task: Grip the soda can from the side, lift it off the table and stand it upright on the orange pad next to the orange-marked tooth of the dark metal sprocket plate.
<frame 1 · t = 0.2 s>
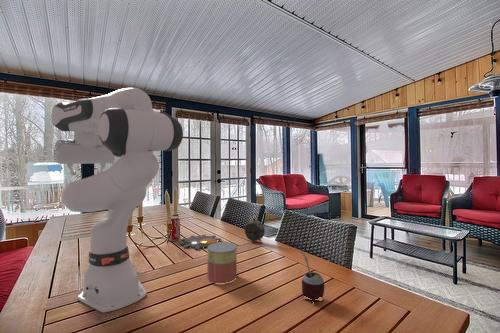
hand: (87, 174, 103), 39 cm above the table, tool pointing down, fingers open, 8 cm apart
alarm clock: (253, 242, 139), on the table
sprocket plate: (200, 242, 138), on the table
canned food: (222, 278, 97), on the table
mate gourd: (311, 299, 82), on the table
soda can: (173, 240, 143), on the table
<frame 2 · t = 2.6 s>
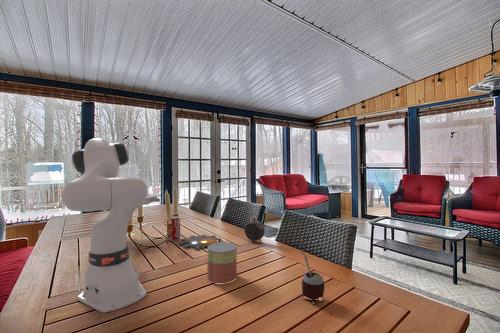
hand: (154, 201, 146), 21 cm above the table, tool horizontal, fingers open, 8 cm apart
nothing on the table moved.
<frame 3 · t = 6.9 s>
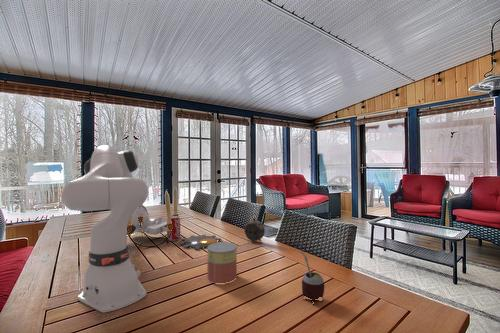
hand: (174, 227, 142), 7 cm above the table, tool horizontal, fingers open, 6 cm apart
soda can: (173, 240, 143), on the table, touching gripper
everything else where it was.
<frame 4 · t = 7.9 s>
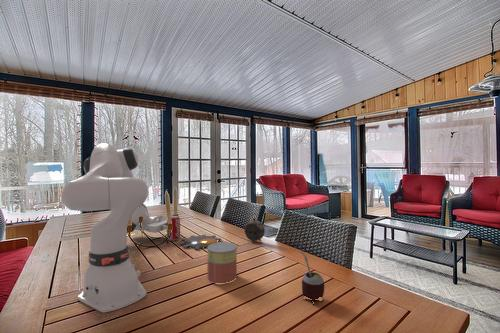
hand: (175, 225, 142), 8 cm above the table, tool horizontal, fingers open, 5 cm apart
soda can: (173, 239, 143), on the table
everything else where it was.
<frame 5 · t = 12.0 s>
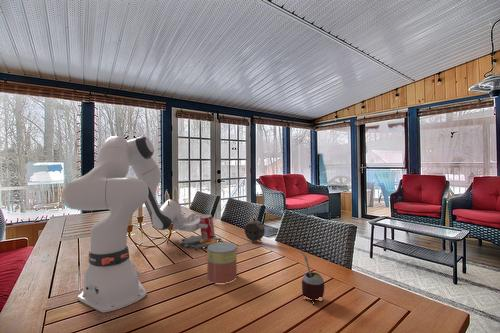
hand: (210, 224, 137), 10 cm above the table, tool horizontal, fingers closed on soda can, 5 cm apart
soda can: (208, 238, 139), point 2 cm above the table, touching gripper, sprocket plate
everything else where it was.
when the fingers open (10 cm above the table, at t = 12.2 s): soda can stays where it is, resting on sprocket plate.
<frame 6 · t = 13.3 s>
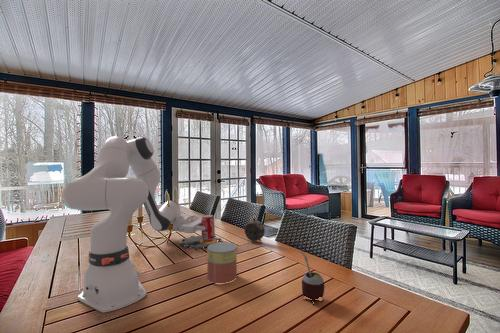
hand: (209, 226, 136), 10 cm above the table, tool horizontal, fingers open, 8 cm apart
soda can: (208, 239, 139), point 1 cm above the table, touching gripper, sprocket plate
everything else where it was.
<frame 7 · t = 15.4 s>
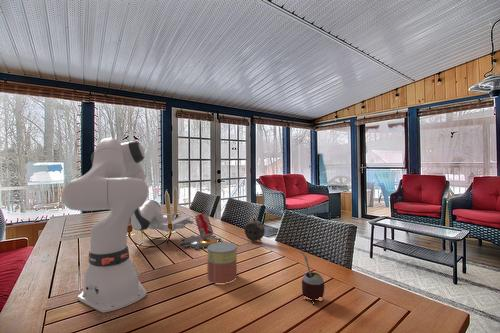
hand: (188, 224, 140), 10 cm above the table, tool horizontal, fingers open, 8 cm apart
soda can: (207, 237, 140), point 3 cm above the table, touching sprocket plate
everything else where it was.
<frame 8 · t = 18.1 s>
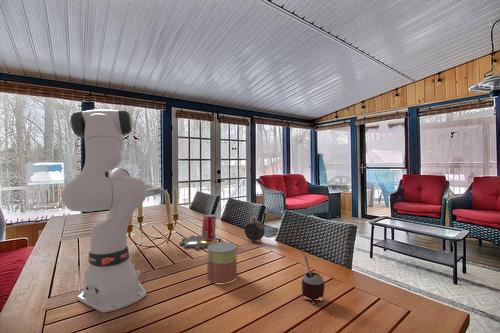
hand: (160, 192, 132), 28 cm above the table, tool horizontal, fingers open, 8 cm apart
soda can: (208, 239, 140), point 2 cm above the table, touching sprocket plate
everything else where it was.
at the end: soda can 2.8 cm from the target spot on the sprocket plate, point 1.6 cm above the sprocket plate's base; soda can tilted 9°; the gripper is holding nothing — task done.
